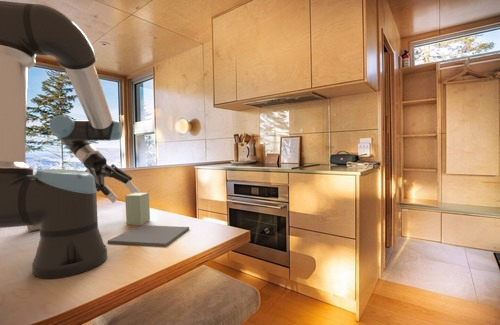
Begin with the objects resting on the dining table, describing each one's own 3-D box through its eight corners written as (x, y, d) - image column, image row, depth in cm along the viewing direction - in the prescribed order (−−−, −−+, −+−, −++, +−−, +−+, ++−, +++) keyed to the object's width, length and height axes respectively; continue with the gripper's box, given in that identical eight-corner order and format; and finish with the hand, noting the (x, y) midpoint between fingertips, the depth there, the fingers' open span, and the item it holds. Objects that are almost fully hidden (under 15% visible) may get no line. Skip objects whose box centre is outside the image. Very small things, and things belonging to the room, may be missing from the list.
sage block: (140, 224, 97) (139, 195, 97) (126, 224, 98) (125, 195, 98) (149, 220, 103) (148, 192, 103) (136, 219, 104) (135, 192, 104)
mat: (166, 246, 75) (166, 243, 75) (107, 243, 78) (107, 240, 78) (189, 229, 91) (189, 227, 91) (139, 227, 94) (139, 225, 94)
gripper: (108, 163, 117) (140, 197, 115) (58, 167, 93) (98, 210, 91) (118, 151, 116) (150, 185, 114) (70, 152, 91) (110, 196, 90)
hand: (127, 196), depth 103 cm, fingers open, 13 cm apart
